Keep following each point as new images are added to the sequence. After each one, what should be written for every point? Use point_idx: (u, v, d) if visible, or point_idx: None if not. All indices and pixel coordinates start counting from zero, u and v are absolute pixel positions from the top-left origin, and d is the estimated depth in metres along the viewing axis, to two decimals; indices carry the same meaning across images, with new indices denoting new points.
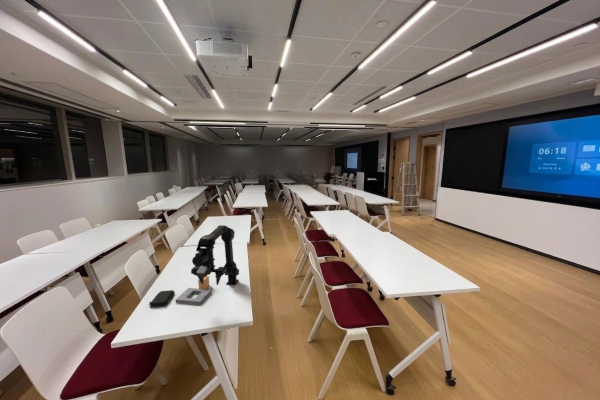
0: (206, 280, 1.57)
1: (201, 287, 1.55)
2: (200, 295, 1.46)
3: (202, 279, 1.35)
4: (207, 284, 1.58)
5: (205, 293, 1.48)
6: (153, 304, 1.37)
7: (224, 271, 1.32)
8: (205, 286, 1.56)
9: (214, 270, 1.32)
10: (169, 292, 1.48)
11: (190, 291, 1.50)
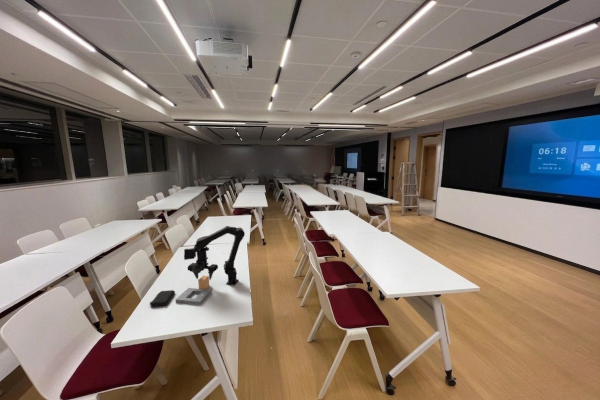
0: (206, 280, 1.57)
1: (201, 287, 1.55)
2: (200, 295, 1.46)
3: (197, 275, 1.58)
4: (207, 284, 1.58)
5: (205, 293, 1.48)
6: (153, 304, 1.37)
7: (216, 268, 1.54)
8: (205, 286, 1.56)
9: (207, 267, 1.55)
10: (169, 292, 1.48)
11: (190, 291, 1.50)
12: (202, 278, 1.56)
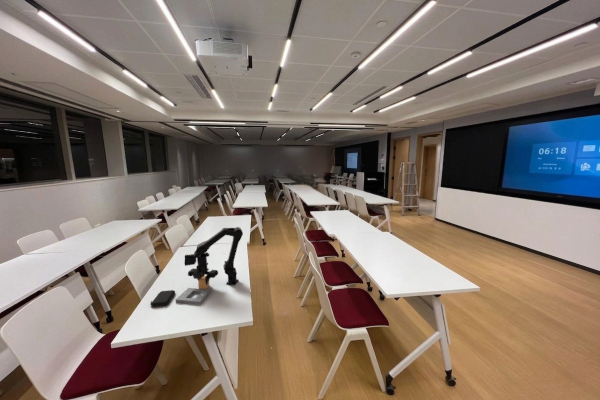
0: None
1: (201, 287, 1.55)
2: (200, 295, 1.46)
3: None
4: None
5: (205, 293, 1.48)
6: (154, 304, 1.37)
7: (216, 273, 1.55)
8: (205, 286, 1.56)
9: (207, 273, 1.55)
10: (170, 292, 1.48)
11: (190, 291, 1.50)
12: (202, 278, 1.56)
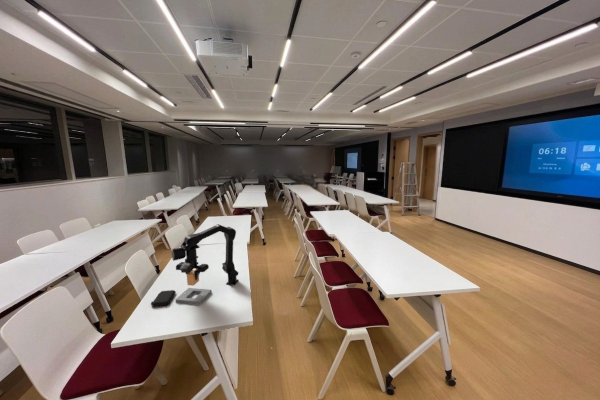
0: None
1: (190, 282, 1.43)
2: (200, 295, 1.46)
3: None
4: None
5: (205, 293, 1.48)
6: (155, 304, 1.37)
7: (206, 268, 1.43)
8: (194, 281, 1.44)
9: (197, 267, 1.44)
10: (170, 292, 1.48)
11: (190, 291, 1.50)
12: (191, 272, 1.45)
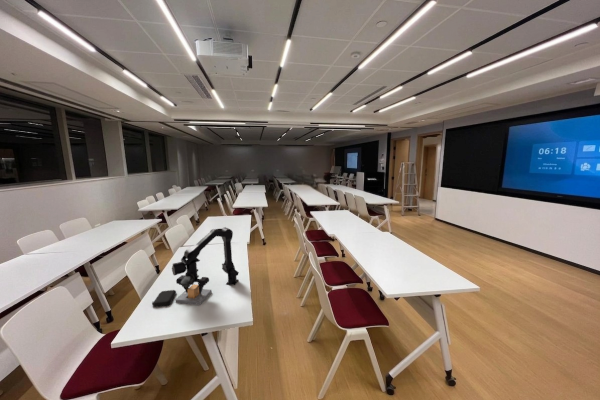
0: (196, 289, 1.46)
1: (191, 297, 1.44)
2: (200, 295, 1.46)
3: (187, 288, 1.47)
4: (197, 294, 1.47)
5: (205, 293, 1.48)
6: (156, 304, 1.37)
7: (206, 281, 1.44)
8: (195, 296, 1.45)
9: (197, 280, 1.44)
10: (171, 292, 1.48)
11: None
12: (192, 287, 1.45)
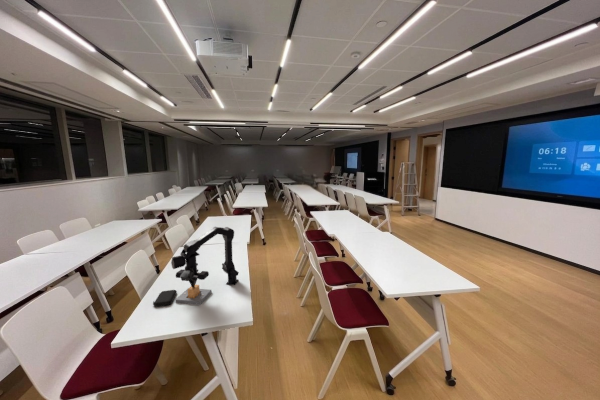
0: (196, 289, 1.46)
1: (191, 297, 1.44)
2: (200, 295, 1.46)
3: None
4: (197, 294, 1.47)
5: (205, 293, 1.48)
6: (157, 304, 1.37)
7: (206, 275, 1.43)
8: (195, 296, 1.45)
9: (197, 274, 1.43)
10: (171, 292, 1.48)
11: None
12: (192, 287, 1.45)
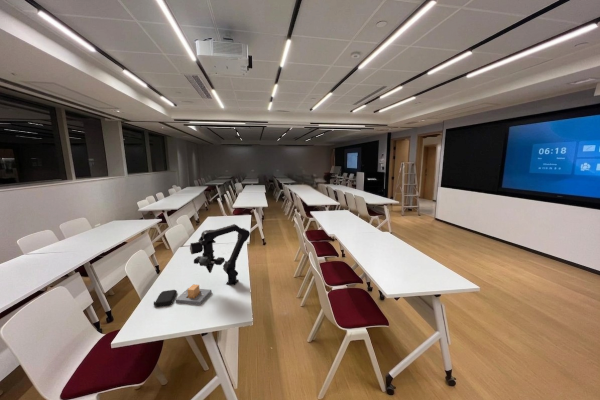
0: (196, 289, 1.46)
1: (191, 297, 1.44)
2: (200, 295, 1.46)
3: None
4: (197, 294, 1.47)
5: (205, 293, 1.48)
6: (158, 304, 1.37)
7: (222, 261, 1.51)
8: (195, 296, 1.45)
9: (214, 260, 1.52)
10: (172, 291, 1.48)
11: None
12: (192, 287, 1.45)
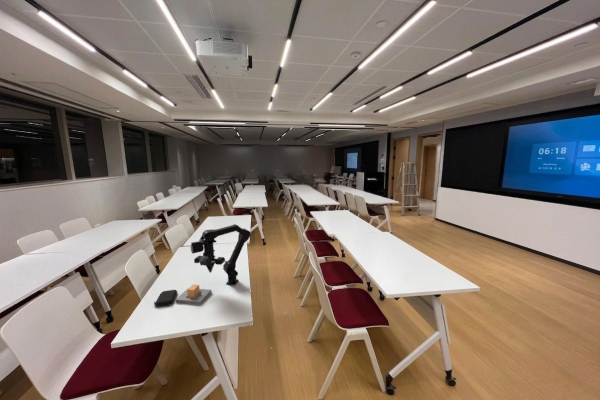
0: (196, 289, 1.46)
1: (191, 297, 1.44)
2: (200, 295, 1.46)
3: None
4: (197, 294, 1.47)
5: (205, 293, 1.48)
6: (158, 304, 1.37)
7: (223, 260, 1.51)
8: (195, 296, 1.45)
9: (214, 260, 1.52)
10: (172, 291, 1.48)
11: None
12: (192, 287, 1.45)
